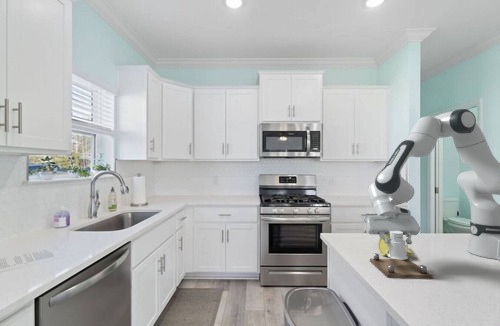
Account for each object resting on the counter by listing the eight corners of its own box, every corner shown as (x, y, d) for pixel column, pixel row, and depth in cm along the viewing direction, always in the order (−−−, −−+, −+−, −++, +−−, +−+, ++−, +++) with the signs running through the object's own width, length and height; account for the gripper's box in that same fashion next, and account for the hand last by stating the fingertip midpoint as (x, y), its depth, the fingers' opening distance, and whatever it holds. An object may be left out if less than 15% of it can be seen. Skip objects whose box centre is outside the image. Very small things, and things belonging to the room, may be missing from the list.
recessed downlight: (403, 253, 104) (402, 229, 104) (412, 260, 97) (411, 234, 97) (383, 254, 105) (381, 230, 105) (391, 260, 98) (389, 234, 98)
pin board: (408, 262, 108) (408, 253, 108) (432, 278, 92) (432, 268, 92) (369, 261, 109) (369, 252, 109) (387, 277, 93) (387, 267, 93)
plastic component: (413, 254, 111) (390, 243, 113) (405, 269, 112) (382, 257, 114) (400, 239, 130) (381, 229, 132) (393, 251, 131) (374, 241, 133)
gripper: (364, 209, 109) (374, 238, 99) (413, 210, 107) (428, 239, 98) (360, 217, 113) (369, 246, 103) (407, 218, 112) (421, 247, 102)
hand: (398, 243), depth 100 cm, fingers closed on recessed downlight, 7 cm apart
